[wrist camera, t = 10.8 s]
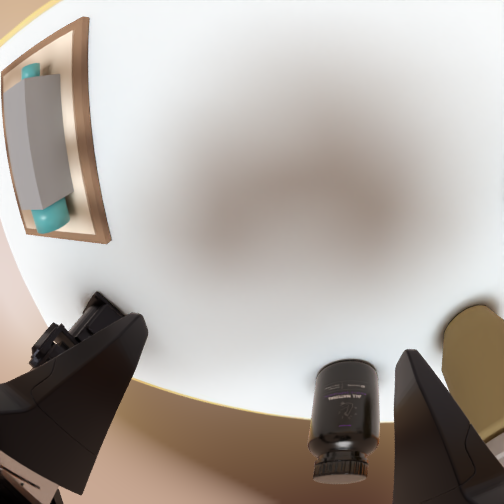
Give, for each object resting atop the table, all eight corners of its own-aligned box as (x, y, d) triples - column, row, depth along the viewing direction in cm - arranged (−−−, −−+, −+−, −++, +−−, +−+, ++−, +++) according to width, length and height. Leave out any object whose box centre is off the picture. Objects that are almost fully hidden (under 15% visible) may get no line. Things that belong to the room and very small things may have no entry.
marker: (80, 215, 22) (50, 236, 19) (55, 215, 23) (28, 233, 19) (60, 57, 14) (24, 60, 11) (35, 71, 15) (3, 76, 12)
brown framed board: (111, 239, 24) (104, 245, 23) (30, 231, 26) (24, 235, 26) (89, 17, 13) (80, 16, 12) (6, 70, 16) (-1, 71, 15)
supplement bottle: (351, 349, 24) (350, 467, 14) (388, 375, 25) (393, 476, 15) (302, 376, 28) (285, 478, 18) (341, 398, 29) (334, 488, 19)
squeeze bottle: (508, 289, 17) (576, 451, 2) (484, 347, 21) (518, 489, 6) (444, 298, 19) (495, 501, 4) (425, 357, 23) (442, 520, 8)
